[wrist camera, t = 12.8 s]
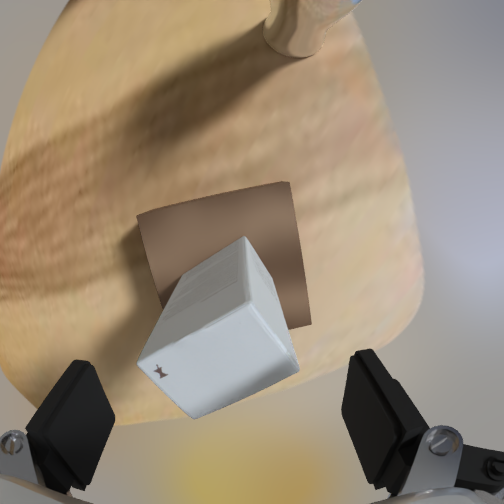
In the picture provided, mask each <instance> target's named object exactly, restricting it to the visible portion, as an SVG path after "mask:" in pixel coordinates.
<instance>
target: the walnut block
mask: <svg viewBox="0 0 504 504" xmlns="http://www.w3.org/2000/svg"><path fill="white" fill-rule="evenodd" d="M136 217H137V221H138V225H139V229H140V233H141V237H142V240H143V244H144V248H145V251H146V255H147V259H148V262H149V266H150V269H151V273H152V276H153V279H154V282H155V286H156V289H157V292H158V295H159V298H160V302H161V305H162V308H163V310H164V308H165V306H166V304H167V302H168V301H169V299H170V297H171V295H172V293H173V291H174V289H175V288H176V286H177V284H178V282H179V280H180V279H181V277H182V275H183V274H185V273H186V272H188V271H189V270H191V269H192V268H194V267H196V266H197V265H199V264H200V263H202V262H203V261H205V260H206V259H208V258H210V257H211V256H213V255H214V254H216V253H217V252H219V251H221V250H222V249H224V248H225V247H227V246H228V245H230V244H232V243H233V242H235V241H236V240H238V239H240V238H241V237H243V236H245V237H246V238H247V239H248V241H249V242H250V244H251V245H252V247H253V248H254V250H255V252H256V253H257V255H258V256H259V258H260V260H261V261H262V263H263V264H264V266H265V267H266V269H267V271H268V272H269V274H270V275H271V277H272V279H273V282H274V285H275V289H276V292H277V295H278V298H279V301H280V305H281V308H282V311H283V315H284V318H285V321H286V325H287V328H288V330H289V329H294V328H298V327H303V326H307V325H311V324H312V323H311V315H310V307H309V300H308V293H307V285H306V279H305V272H304V265H303V259H302V252H301V246H300V240H299V234H298V228H297V222H296V216H295V210H294V205H293V199H292V193H291V188H290V183H289V182H283V181H281V182H275V183H270V184H264V185H259V186H254V187H249V188H244V189H239V190H234V191H229V192H225V193H220V194H215V195H211V196H206V197H202V198H198V199H193V200H189V201H185V202H181V203H176V204H172V205H168V206H164V207H160V208H156V209H153V210H150V211H147V212H145V213H142V214H139V215H137V216H136Z"/></svg>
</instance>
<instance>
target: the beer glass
mask: <svg viewBox="0 0 504 504" xmlns="http://www.w3.org/2000/svg"><path fill="white" fill-rule="evenodd" d="M361 1H362V0H270V7H271V12H270V14H269V15H268V17H267V18H266V20H265V22H264V25H263V35H264V38H265V40H266V42H267V43H268V45H269V46H270V47H271V48H272V49H274V50H275V51H276V52H278V53H280V54H282V55H285V56H288V57H294V58H303V57H308V56H311V55H313V54H315V53H317V52H318V51H319V50H320V49H321V48H322V46H323V44H324V41H325V37H326V32H327V31H328V29H329V28H331V27H332V26H333V25H334V24H336V23H337V22H338V21H340V20H341V19H342V18H344V17H345V16H346V15H348V14H349V13H350V12H351V11H352V10H353V9H354V8H356V7H357V6H358V5H359V3H361Z"/></svg>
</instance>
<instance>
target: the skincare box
mask: <svg viewBox="0 0 504 504" xmlns="http://www.w3.org/2000/svg"><path fill="white" fill-rule="evenodd" d="M137 366H138V367H139V368H140V369H141V370H142V371H143V372H144V373H145V374H146V375H147V376H148V377H149V378H150V379H151V380H152V381H153V382H154V383H155V384H156V385H157V386H158V387H159V388H160V389H161V390H162V391H163V392H164V393H165V394H166V395H167V396H168V397H169V398H170V399H171V400H172V401H173V402H174V403H175V404H176V405H177V406H178V407H179V408H180V409H182V410H183V411H184V412H185V413H186V414H187V415H189V416H190V417H191V418H192V419H197V418H199V417H202V416H204V415H207V414H209V413H212V412H214V411H217V410H219V409H221V408H224V407H226V406H228V405H231V404H233V403H235V402H237V401H240V400H242V399H244V398H246V397H248V396H250V395H253V394H255V393H257V392H259V391H261V390H263V389H265V388H267V387H269V386H271V385H273V384H275V383H277V382H279V381H281V380H283V379H285V378H287V377H289V376H291V375H293V374H295V373H297V372H298V371H299V370H300V368H299V364H298V361H297V357H296V354H295V351H294V347H293V344H292V341H291V338H290V334H289V331H288V328H287V325H286V321H285V318H284V315H283V311H282V308H281V305H280V301H279V298H278V295H277V292H276V289H275V285H274V282H273V279H272V277H271V275H270V274H269V272H268V271H267V269H266V267H265V266H264V264H263V263H262V261H261V260H260V258H259V256H258V255H257V253H256V252H255V250H254V248H253V247H252V245H251V244H250V242H249V241H248V239H247V238H246V237H245V236H243V237H241V238H240V239H238V240H236V241H235V242H233V243H232V244H230V245H228V246H227V247H225V248H224V249H222V250H221V251H219V252H217V253H216V254H214V255H213V256H211V257H210V258H208V259H206V260H205V261H203V262H202V263H200V264H199V265H197V266H196V267H194V268H192V269H191V270H189V271H188V272H186V273H185V274H183V275H182V277H181V279H180V280H179V282H178V284H177V286H176V288H175V289H174V291H173V293H172V295H171V297H170V299H169V301H168V302H167V304H166V306H165V308H164V310H163V312H162V314H161V315H160V317H159V319H158V321H157V323H156V325H155V327H154V329H153V331H152V333H151V334H150V336H149V338H148V340H147V342H146V344H145V346H144V348H143V350H142V352H141V354H140V356H139V358H138V360H137Z"/></svg>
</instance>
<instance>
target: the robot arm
mask: <svg viewBox="0 0 504 504" xmlns="http://www.w3.org/2000/svg"><path fill="white" fill-rule="evenodd" d="M341 410H342V417H343V419H344V421H345V424H346V427H347V429H348V431H349V434H350V437H351V440H352V442H353V445H354V447H355V450H356V453H357V455H358V458H359V460H360V463H361V465H362V468H363V471H364V473H365V476H366V479H367V481H368V483H369V484H374V487H375V489H376V490H377V489H380V488H383V487H386V489H387V491H388V492H389V493H390V494H389V496H388V498H387V499H385V500H382V501H378V502H374V503H371V504H504V452H500V451H495V450H489V449H483V448H478V447H473V446H469V445H465V444H463V438H462V436H461V434H460V433H459V432H458V431H457V430H456V429H454V428H452V427H449V426H443V425H440V426H434V427H432V428H429V426H428V425H427V423H426V422H425V420H424V419H423V417H422V416H421V414H420V413H419V411H418V410H417V408H416V407H415V405H414V404H413V402H412V401H411V399H410V398H409V396H408V395H407V393H406V392H405V390H404V389H403V387H402V386H401V384H400V383H399V382H398V381H397V380H396V379H393V378H392V377H391V375H390V374H389V373H388V371H387V370H386V368H385V367H384V366H383V364H382V362H381V361H380V360H379V358H378V357H377V355H376V354H375V352H374V351H373V350H372V349H365V350H360V351H356V352H355V354H354V356H351V357H350V361H349V368H348V374H347V380H346V386H345V392H344V397H343V402H342V409H341ZM114 423H115V414H114V412H113V410H112V408H111V406H110V404H109V401H108V399H107V397H106V395H105V392H104V390H103V388H102V385H101V383H100V380H99V378H98V376H97V373H96V370H95V368H94V366H93V365H91V364H90V362H89V361H84V360H74V361H73V362H72V363H71V364H70V366H69V367H68V368H67V370H66V371H65V372H64V374H63V375H62V376H61V378H60V379H59V380H58V382H57V383H56V384H55V386H54V387H53V389H52V390H51V391H50V393H49V394H48V396H47V397H46V398H45V400H44V401H43V403H42V404H41V406H40V407H39V408H38V410H37V411H36V413H35V414H34V416H33V417H32V419H31V420H30V422H29V423H28V425H27V426H26V428H25V429H26V430H27V432H28V433H27V434H26V435H25V434H24V433H23V432H21V431H19V430H10V431H8V432H6V433H4V434H3V435H2V436H1V437H0V504H93V503H89V502H86V501H82V500H80V499H76V498H73V497H72V494H71V492H70V488H71V486H72V487H73V488H76V489H80V490H83V491H85V488H86V485H89V484H90V483H91V481H92V478H93V475H94V473H95V470H96V467H97V465H98V462H99V460H100V457H101V454H102V452H103V450H104V447H105V445H106V442H107V440H108V437H109V434H110V432H111V430H112V427H113V425H114Z"/></svg>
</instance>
